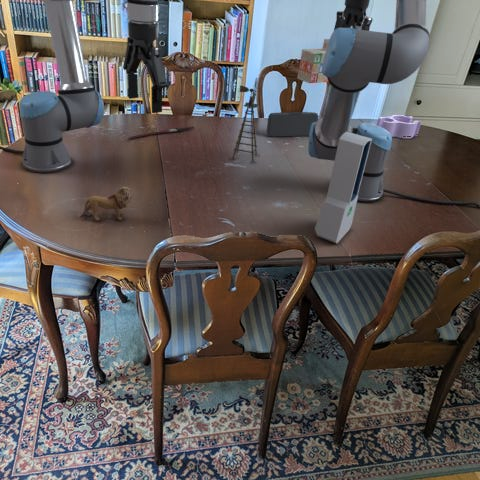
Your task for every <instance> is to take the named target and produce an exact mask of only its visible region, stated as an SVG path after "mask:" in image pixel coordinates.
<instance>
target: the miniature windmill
mask: <svg viewBox="0 0 480 480" xmlns="http://www.w3.org/2000/svg"><path fill="white" fill-rule="evenodd" d="M258 81H259V80H258V77H255V80H254V82H253V83H254V84H253V87H254V88H249V87H247V86H244V85H241V84H240V85H239V93H248V92H250V96H249V100H248V102H247V101H246V102H245V104H243V107H244V108H246V110H245V112H244V116H243V118H242V119H243V121H242V123H241V127H240V129H239V134H238V136H237V140H236V142H235V146H234V147H235V148H233V154H232V157H231V159H232V160H234V159H235V156H236V152H237V153H238V152H245V153H249V154H251V163H254V162H255V161H254V160H255V159H254V155H255V156H258V148H257V147H258V145H257V136H256V135H257V133H256V125H255V124H256V121H255V111H254V109H256V108H257V107H259V104H258V103H255V101H256V97H257V88H258V87H257V86H258ZM248 115H250V119H251V120H247V116H248ZM246 123H250V124H246ZM246 126H247V127H251V129H250V131H246V130H244V128H245V127H246ZM243 133H246V134H251V137H249V136H245V135H243ZM242 138H244V139H250V140H251V144H250V143H244V142H242V141H241V140H242ZM240 145H245V146H251V151H250V150H243V149H239V148H240Z"/></svg>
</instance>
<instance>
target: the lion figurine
mask: <svg viewBox="0 0 480 480" xmlns="http://www.w3.org/2000/svg"><path fill="white" fill-rule="evenodd" d="M132 199H133V194H132V188H129V187H128V186H122V187H119V188H118V191H116V192H114V193H113V194H112V195H110V196H100V195H91V196H89V197H88V198H87V199H86V201H85V204H84V209H83V212H82V214H81V215H80V216H79V218H80V219H81V218H84V217H85V215H86V216H92V217H93V218H94V220H95V221H96V222H99V221H100V217H98V216H97V211H98V208H100V209H102V210H106V211H109V210H113V213H114V216H115V217H116V219H117V220H118V221H121V220H123V218H122V216H120V215H121V210H123V209H126V208H127V207H128V205H129V204H130V203H131V201H132ZM90 210H91V211H92V212H90Z"/></svg>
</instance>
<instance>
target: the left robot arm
mask: <svg viewBox="0 0 480 480" xmlns="http://www.w3.org/2000/svg"><path fill="white" fill-rule="evenodd" d="M41 1H42V2H43V4H44V9H45V13H46V17H47V18H46V19H47V21H48V22H47V23H48V28H49V32H50V37H51V42H52V46H53V51H54V57H55V60H56V67H57V71H58V75H59V80H60V85H59V86H58V87H57V93H58V94H57V93H56V92H54V91H51V90H45V91H43V90H40V91H39V90H37V91H33V92H30V93H27V94H26V95H24V96H22V97H21V98H20V100H19V103H18V104H19V116H20V119H21V125H22V132H23V137H24V148H23V150H19V149H12V148H8V147H4V146H0V150H2V151H5V152H8V153H14V154H22V158H21V159H22V160H21V161H22V166H23V168H24V169H25V170H27V171H29V172H33V173H39V174H46V173H56V172H61V171H63V170H66V169H67V168H69V167H70V166H71V163H72V159H71V154H70V152H69V150H67V149H68V148H67V147H66V145H65V143H64V140H63V133H65V132H69V131H75V130H79V129H85V128H86V129H89V128H91V127H95V126H98V125H100V123H101V122H102V120H103V119H104V115H105V104H104V103H105V102H104V99H103V97H102V94H101V93H100V92H99V91H98V90H95V87H94V85H93V84H92V83H91V82H90V81H89V80H88V74H87V69H86V63H85V60H84V54H83V49H82V43H81V38H80V31H79V27H78V22H77V16H76V11H75V5H74V0H41ZM126 1H127V2H126V8H127V9H126V10H127V19H128V20H129V21H128V23H127V32H128V36H127V38H126V44H127V45H126V49H125V55H124V60H123V64H122V69H123V70H124V71H125V73H126V74H127V94H128V96H127V97H128V99H129V100H131V99H139V75H138V73H139V71H138V69H139V66H140V64H141V62H142V63H143V64H144V65H145V66H146V67H145V68H146V70H147V73H148V75H149V78H150V82H151V85H152V86H151V87H150V89H151V114H157V113H162V112H163V89H165V88H168V81H167V76H166V71H165V67H164V63H163V58H162V48H161V46H155V44H154V42H155V41H156V40H158V39H159V24H158V23H157V22H158V21H159V0H126Z"/></svg>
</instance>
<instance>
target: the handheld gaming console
mask: <svg viewBox="0 0 480 480" xmlns="http://www.w3.org/2000/svg"><path fill="white" fill-rule="evenodd" d="M318 120H319V114H318V113H317V112H315V111H313V112H312V111H309V112H308V111H284V112H283V111H282V112H271V113H269V115H268V117H267V126H266V134H267V136H268V137H303V136H304V137H307V136H308V137H309V134H310V128H311V125H312V123H313V122H318Z"/></svg>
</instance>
